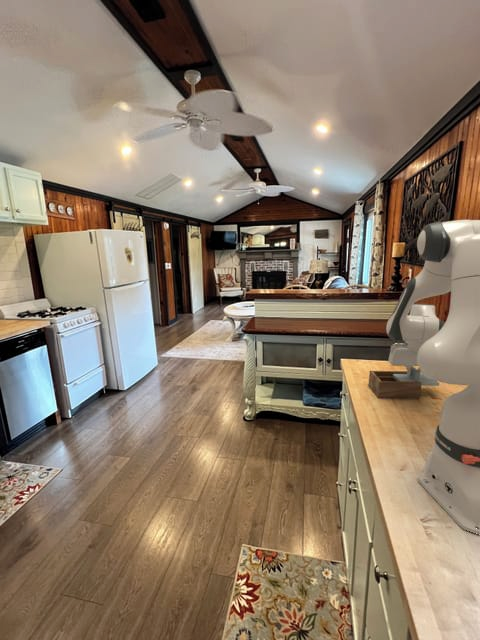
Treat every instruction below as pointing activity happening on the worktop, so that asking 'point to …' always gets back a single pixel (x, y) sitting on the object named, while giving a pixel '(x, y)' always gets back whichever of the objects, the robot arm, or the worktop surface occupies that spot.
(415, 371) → the lid
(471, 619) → the worktop surface
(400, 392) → the lid box
